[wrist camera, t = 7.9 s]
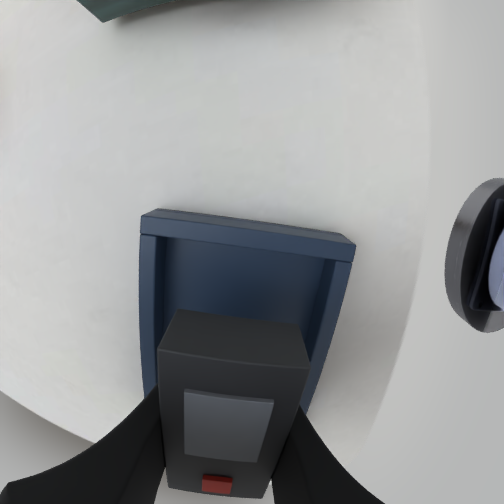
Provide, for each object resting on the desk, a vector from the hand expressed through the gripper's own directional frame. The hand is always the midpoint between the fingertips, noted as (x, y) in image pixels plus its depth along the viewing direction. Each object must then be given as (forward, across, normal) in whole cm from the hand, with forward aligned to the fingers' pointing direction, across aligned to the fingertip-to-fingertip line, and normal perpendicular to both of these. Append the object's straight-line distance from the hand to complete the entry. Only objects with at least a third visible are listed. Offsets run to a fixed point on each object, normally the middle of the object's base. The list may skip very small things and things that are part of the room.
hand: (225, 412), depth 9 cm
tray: (+5, 0, 0) cm, 5 cm away
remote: (0, 0, 0) cm, 0 cm away
